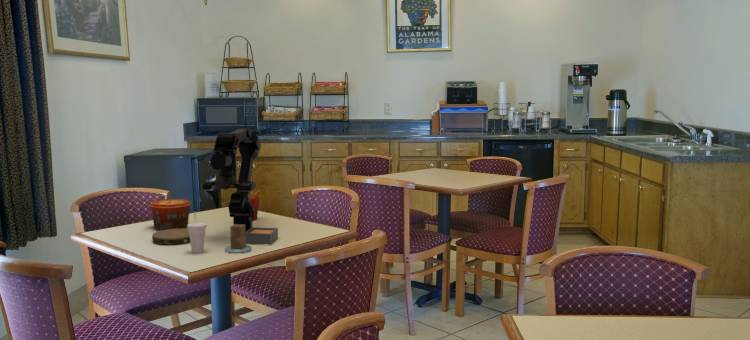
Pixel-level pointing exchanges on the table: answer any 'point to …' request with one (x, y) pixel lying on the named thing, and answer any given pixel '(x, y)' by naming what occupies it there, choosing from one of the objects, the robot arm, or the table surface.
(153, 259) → the table surface
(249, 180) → the robot arm
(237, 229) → the brown upright block
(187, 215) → the food container
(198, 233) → the smoothie
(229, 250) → the saucer
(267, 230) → the button
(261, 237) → the box
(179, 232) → the tin can
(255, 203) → the french fries
